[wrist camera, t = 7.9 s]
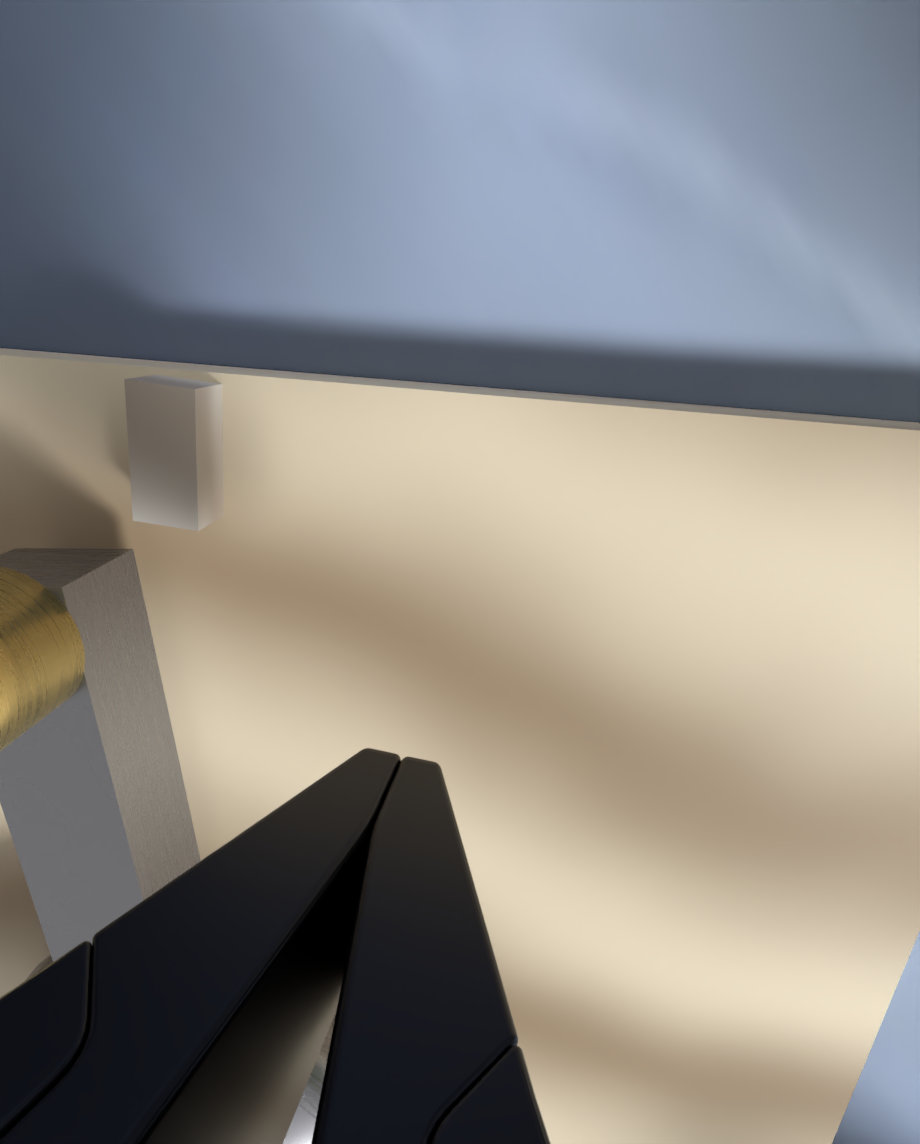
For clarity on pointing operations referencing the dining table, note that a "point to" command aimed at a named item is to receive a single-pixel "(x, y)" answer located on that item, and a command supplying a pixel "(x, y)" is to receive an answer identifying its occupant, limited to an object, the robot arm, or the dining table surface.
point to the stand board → (542, 690)
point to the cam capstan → (93, 752)
